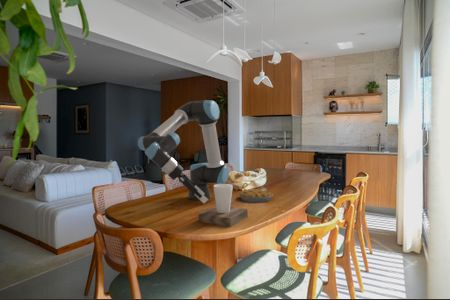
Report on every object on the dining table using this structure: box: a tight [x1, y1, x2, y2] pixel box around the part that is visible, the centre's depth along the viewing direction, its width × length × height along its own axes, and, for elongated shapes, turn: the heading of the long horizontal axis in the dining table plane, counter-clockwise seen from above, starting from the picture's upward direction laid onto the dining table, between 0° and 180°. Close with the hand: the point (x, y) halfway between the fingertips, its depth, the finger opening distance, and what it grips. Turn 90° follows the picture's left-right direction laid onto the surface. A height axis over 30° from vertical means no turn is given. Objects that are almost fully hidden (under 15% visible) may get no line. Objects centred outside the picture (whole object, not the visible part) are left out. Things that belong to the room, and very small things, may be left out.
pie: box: [238, 189, 273, 203], centre depth 189 cm, size 22×22×5 cm
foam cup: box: [213, 183, 234, 213], centre depth 145 cm, size 10×9×13 cm
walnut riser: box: [197, 205, 249, 228], centre depth 145 cm, size 18×18×4 cm
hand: (204, 198), depth 143 cm, fingers open, 13 cm apart
